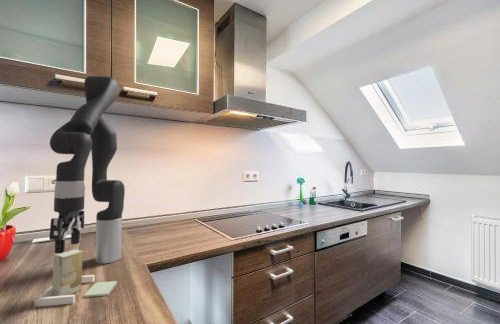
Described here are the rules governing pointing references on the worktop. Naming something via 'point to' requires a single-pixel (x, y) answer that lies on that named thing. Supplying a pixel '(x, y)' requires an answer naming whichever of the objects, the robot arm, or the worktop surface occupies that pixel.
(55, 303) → the white frame
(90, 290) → the pad
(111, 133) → the robot arm
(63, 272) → the skincare box
